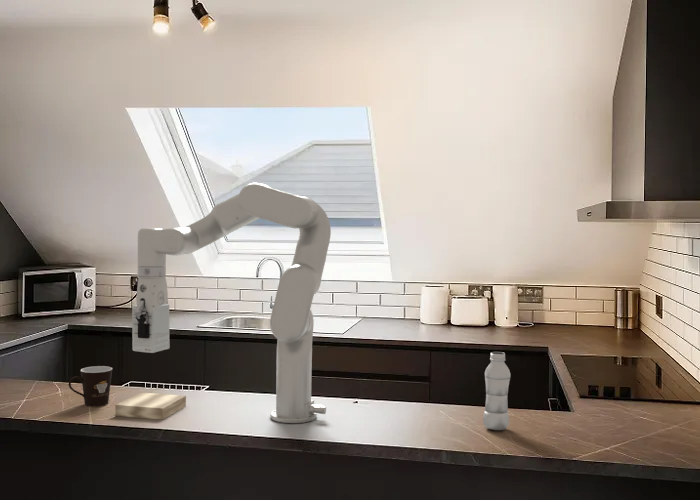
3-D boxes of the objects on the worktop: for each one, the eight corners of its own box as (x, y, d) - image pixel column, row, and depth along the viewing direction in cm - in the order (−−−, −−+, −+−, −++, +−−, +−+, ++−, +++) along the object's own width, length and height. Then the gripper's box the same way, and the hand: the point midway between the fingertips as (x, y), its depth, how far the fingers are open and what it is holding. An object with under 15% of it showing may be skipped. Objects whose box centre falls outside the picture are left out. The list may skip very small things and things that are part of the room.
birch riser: (185, 406, 203) (185, 395, 202) (162, 419, 189) (162, 408, 189) (141, 402, 206) (141, 392, 205) (115, 415, 192) (115, 404, 192)
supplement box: (149, 346, 201) (149, 302, 201) (170, 348, 198) (170, 304, 198) (131, 350, 195) (131, 305, 194) (152, 353, 192) (152, 306, 191)
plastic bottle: (480, 425, 188) (482, 350, 187) (506, 426, 187) (508, 351, 187) (484, 432, 181) (486, 355, 180) (511, 433, 181) (513, 355, 180)
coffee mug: (112, 399, 209) (112, 365, 209) (112, 406, 201) (112, 371, 201) (70, 401, 206) (70, 367, 205) (68, 409, 197) (68, 374, 197)
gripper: (148, 275, 186) (148, 341, 187) (178, 270, 203) (178, 331, 204) (122, 274, 188) (122, 340, 189) (154, 270, 205) (154, 330, 206)
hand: (151, 335), depth 196 cm, fingers closed on supplement box, 8 cm apart
